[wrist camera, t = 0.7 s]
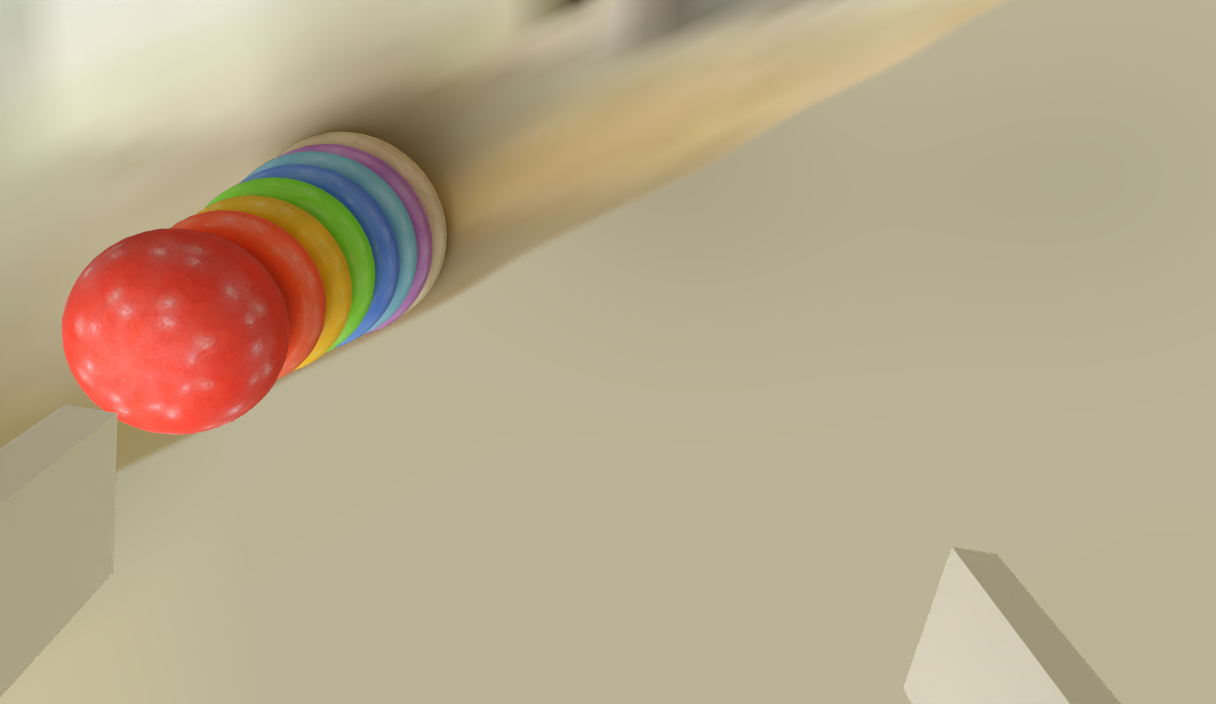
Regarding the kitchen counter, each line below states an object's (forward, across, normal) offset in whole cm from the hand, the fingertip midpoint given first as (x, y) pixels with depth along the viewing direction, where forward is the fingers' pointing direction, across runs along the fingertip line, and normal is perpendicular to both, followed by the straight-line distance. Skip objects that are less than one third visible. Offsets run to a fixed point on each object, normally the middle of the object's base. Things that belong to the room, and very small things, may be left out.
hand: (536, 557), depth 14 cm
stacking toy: (+26, -9, -1) cm, 27 cm away
